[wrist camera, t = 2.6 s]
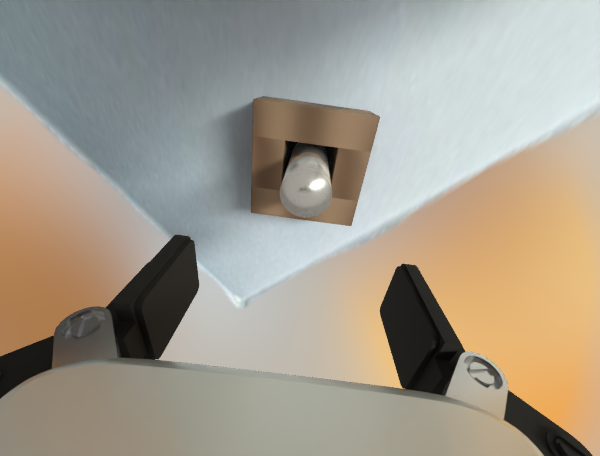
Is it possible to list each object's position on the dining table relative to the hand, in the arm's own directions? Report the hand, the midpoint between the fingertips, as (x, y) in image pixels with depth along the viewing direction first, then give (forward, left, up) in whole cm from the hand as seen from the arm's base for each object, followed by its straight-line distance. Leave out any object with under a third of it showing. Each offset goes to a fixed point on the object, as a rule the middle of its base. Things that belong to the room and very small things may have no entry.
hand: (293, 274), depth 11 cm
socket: (0, 0, -20) cm, 20 cm away
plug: (0, 0, -20) cm, 20 cm away
